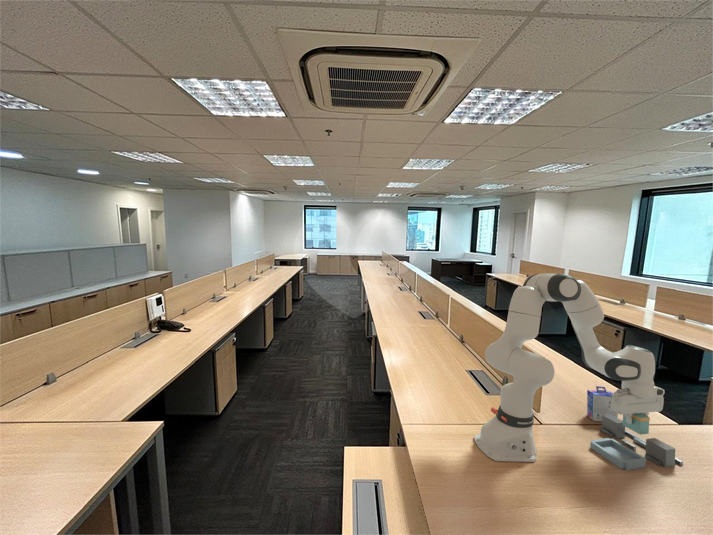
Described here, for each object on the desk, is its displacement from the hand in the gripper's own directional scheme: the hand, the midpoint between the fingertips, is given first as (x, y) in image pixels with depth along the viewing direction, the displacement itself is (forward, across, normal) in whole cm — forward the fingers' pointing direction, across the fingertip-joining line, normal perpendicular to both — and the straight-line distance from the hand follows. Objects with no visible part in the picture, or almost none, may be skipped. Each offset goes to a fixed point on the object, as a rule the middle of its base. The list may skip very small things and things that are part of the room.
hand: (635, 422), depth 109 cm
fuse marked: (+3, 0, 0) cm, 3 cm away
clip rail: (+10, +1, 0) cm, 10 cm away
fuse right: (+10, +1, -8) cm, 13 cm away
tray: (+10, -12, -3) cm, 16 cm away
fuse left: (+10, +1, +8) cm, 13 cm away
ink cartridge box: (+10, +7, +18) cm, 22 cm away
